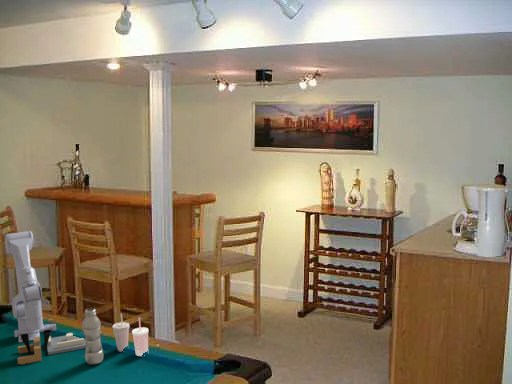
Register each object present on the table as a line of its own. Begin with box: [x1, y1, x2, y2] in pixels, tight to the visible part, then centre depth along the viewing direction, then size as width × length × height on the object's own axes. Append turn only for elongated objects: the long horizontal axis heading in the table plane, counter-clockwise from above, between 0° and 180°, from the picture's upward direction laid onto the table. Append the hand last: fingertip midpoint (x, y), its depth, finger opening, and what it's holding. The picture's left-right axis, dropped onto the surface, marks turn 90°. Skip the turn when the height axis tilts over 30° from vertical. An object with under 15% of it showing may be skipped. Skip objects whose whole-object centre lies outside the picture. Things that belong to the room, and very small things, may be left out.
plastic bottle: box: [81, 307, 104, 366], centre depth 205 cm, size 6×7×20 cm
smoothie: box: [112, 313, 131, 353], centre depth 216 cm, size 6×6×14 cm
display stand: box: [47, 332, 86, 356], centre depth 224 cm, size 14×17×3 cm
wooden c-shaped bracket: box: [17, 335, 43, 365], centre depth 214 cm, size 8×12×5 cm, turn 22°
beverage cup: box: [131, 316, 149, 357], centre depth 212 cm, size 6×6×14 cm
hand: (37, 351), depth 215 cm, fingers open, 5 cm apart
